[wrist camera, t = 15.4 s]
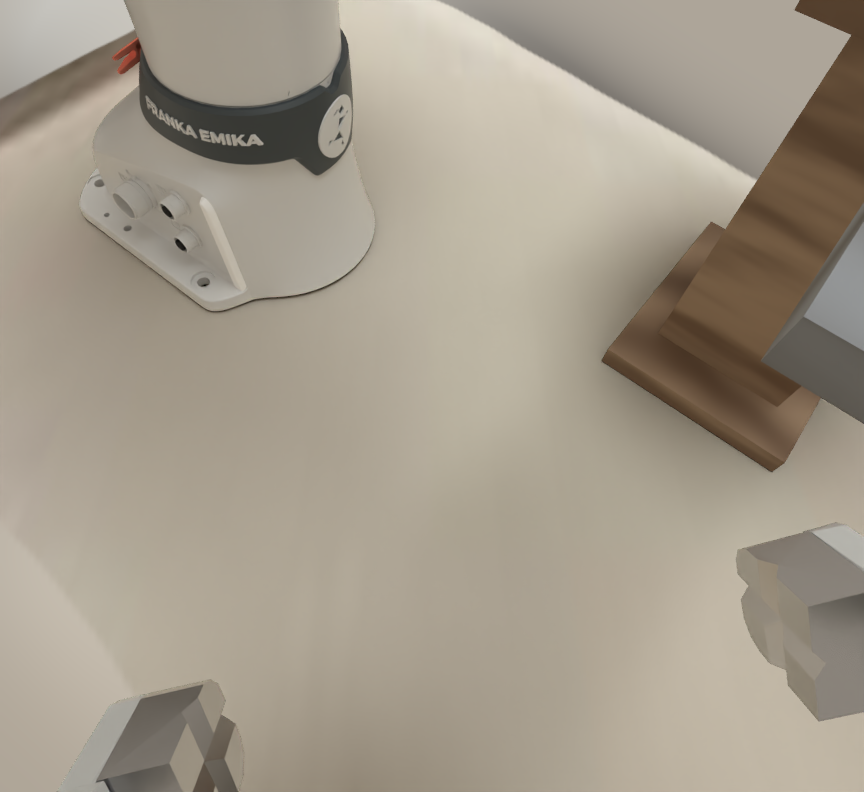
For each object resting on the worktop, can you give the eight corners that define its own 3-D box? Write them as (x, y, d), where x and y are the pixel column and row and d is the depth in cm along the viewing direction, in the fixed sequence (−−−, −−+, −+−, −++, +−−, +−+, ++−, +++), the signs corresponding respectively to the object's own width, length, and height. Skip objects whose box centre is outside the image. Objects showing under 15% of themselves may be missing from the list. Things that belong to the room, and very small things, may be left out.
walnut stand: (771, 472, 40) (1328, 72, 16) (601, 360, 44) (856, -103, 20) (856, 321, 47) (1341, -120, 23) (702, 235, 50) (985, -226, 27)
